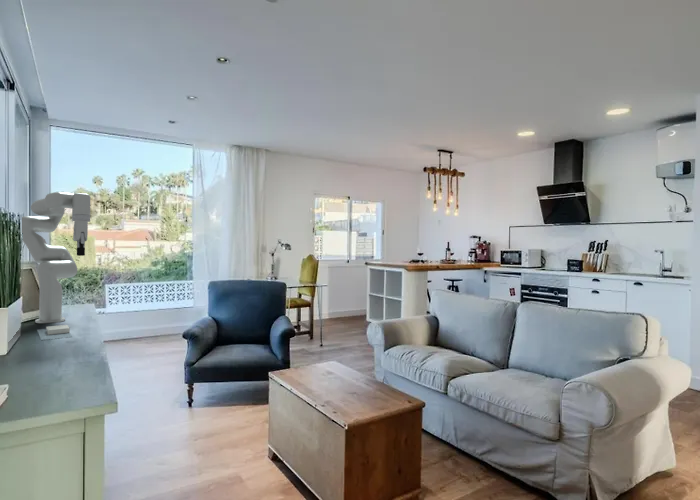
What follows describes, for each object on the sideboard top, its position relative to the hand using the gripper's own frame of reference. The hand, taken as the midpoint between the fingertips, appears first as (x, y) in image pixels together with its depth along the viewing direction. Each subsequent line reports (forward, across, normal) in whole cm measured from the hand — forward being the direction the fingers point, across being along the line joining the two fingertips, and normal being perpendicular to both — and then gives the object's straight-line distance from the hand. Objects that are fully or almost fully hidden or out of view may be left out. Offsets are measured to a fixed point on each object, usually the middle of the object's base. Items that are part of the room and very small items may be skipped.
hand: (80, 255), depth 203 cm
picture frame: (+34, +7, -10) cm, 36 cm away
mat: (+35, +13, -12) cm, 39 cm away
